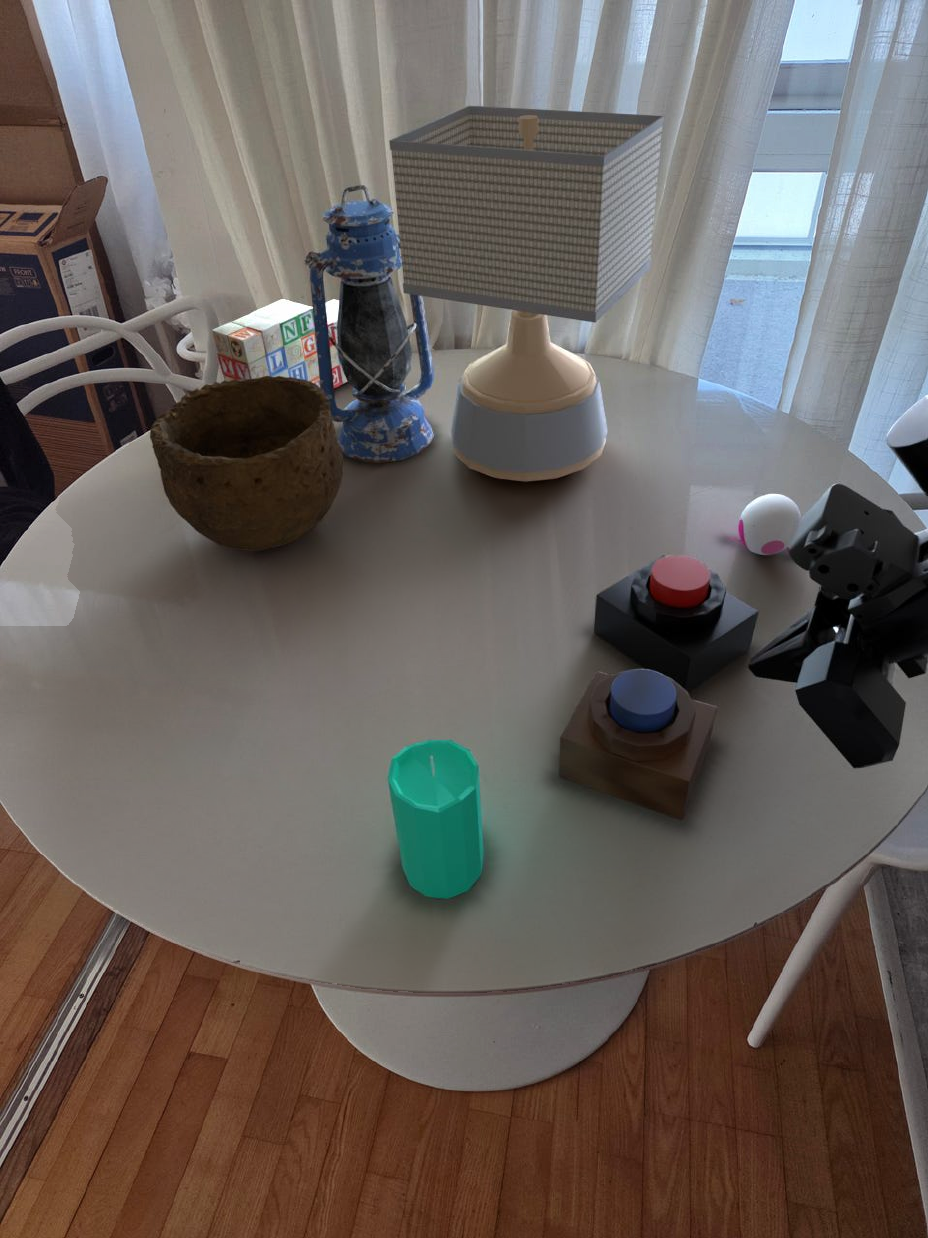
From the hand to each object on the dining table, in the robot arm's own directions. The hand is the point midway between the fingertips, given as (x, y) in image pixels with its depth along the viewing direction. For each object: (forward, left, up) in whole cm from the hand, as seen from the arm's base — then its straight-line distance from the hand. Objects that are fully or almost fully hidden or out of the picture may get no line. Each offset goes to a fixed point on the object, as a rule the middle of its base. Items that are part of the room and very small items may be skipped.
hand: (752, 668), depth 58 cm
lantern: (+46, -46, -13) cm, 66 cm away
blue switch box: (+7, -1, -13) cm, 15 cm away
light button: (+6, -16, -7) cm, 19 cm away
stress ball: (-1, -33, -13) cm, 36 cm away
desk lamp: (+27, -46, -13) cm, 55 cm away
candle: (+19, +12, -13) cm, 26 cm away
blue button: (+7, -1, -7) cm, 10 cm away
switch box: (+6, -16, -13) cm, 22 cm away
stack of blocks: (+62, -56, -13) cm, 85 cm away
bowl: (+51, -23, -13) cm, 58 cm away
